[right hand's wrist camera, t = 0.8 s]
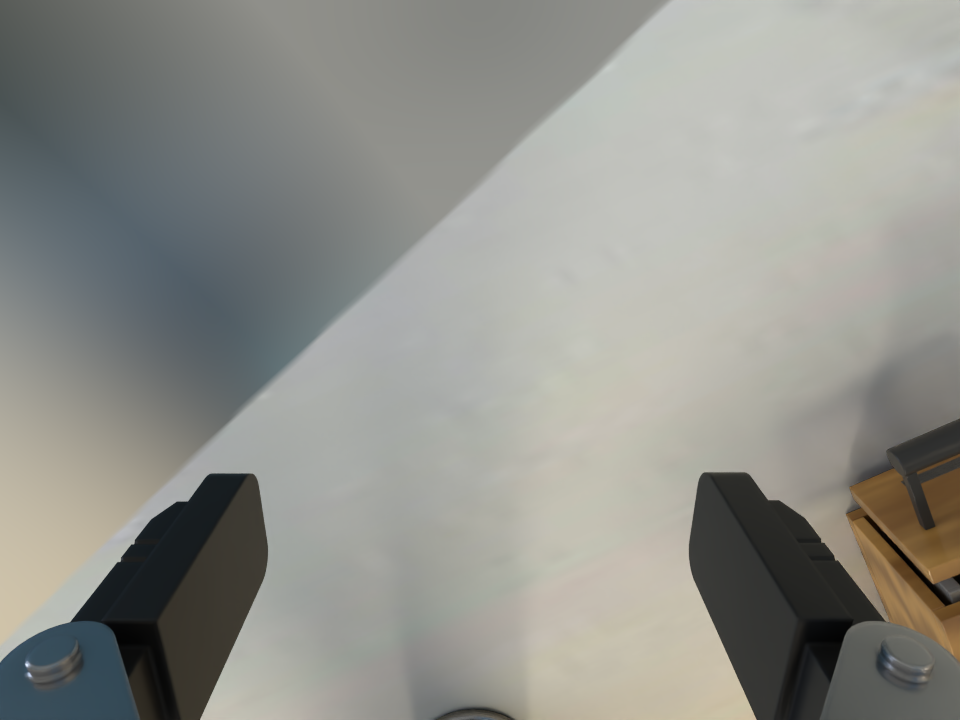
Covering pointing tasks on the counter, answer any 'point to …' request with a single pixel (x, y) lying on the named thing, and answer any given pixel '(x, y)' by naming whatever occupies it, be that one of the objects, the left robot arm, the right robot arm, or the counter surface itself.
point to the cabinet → (905, 588)
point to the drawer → (921, 507)
